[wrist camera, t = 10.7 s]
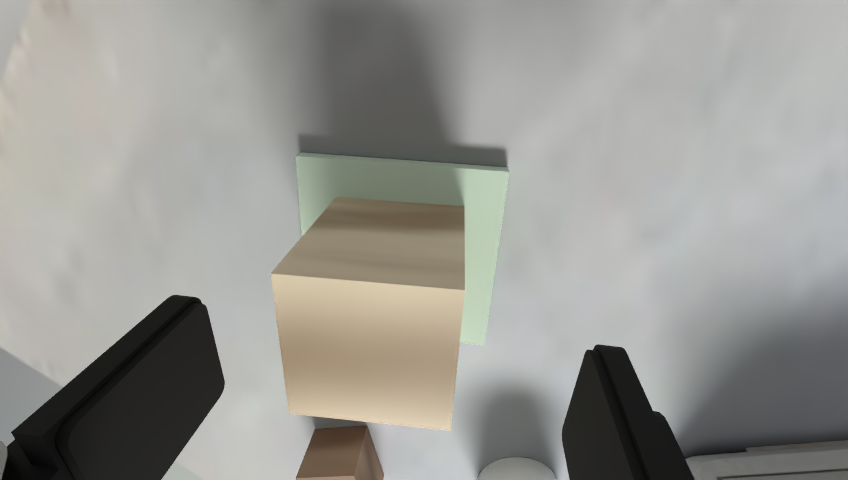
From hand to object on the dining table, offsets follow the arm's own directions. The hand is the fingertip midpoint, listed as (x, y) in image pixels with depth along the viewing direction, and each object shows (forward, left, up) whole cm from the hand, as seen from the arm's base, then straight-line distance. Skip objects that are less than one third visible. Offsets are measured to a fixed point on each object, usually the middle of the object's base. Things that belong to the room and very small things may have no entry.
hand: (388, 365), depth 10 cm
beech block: (+1, -1, -7) cm, 7 cm away
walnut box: (+14, -3, -8) cm, 16 cm away
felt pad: (+1, -1, -8) cm, 8 cm away
